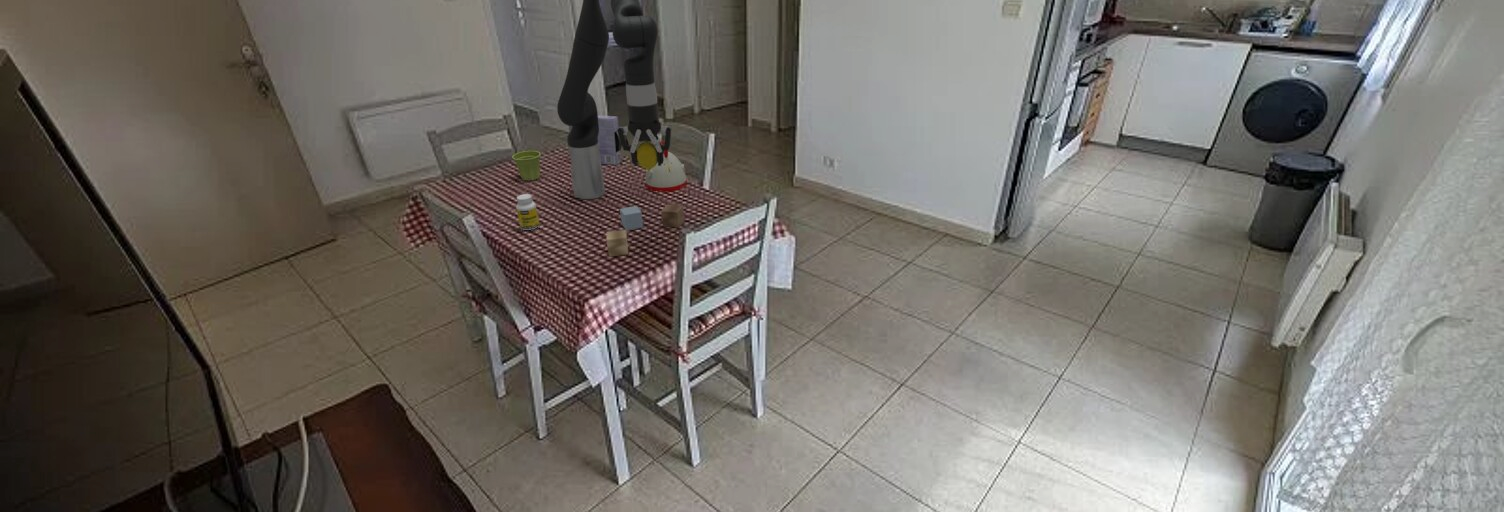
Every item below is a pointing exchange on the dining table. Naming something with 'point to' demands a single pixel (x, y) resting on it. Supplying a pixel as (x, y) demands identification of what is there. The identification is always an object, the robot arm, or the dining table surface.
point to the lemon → (647, 155)
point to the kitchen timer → (666, 174)
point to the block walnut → (672, 216)
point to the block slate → (631, 218)
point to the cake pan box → (608, 140)
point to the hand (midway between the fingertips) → (648, 164)
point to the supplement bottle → (527, 212)
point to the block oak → (617, 243)
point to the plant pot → (528, 164)
